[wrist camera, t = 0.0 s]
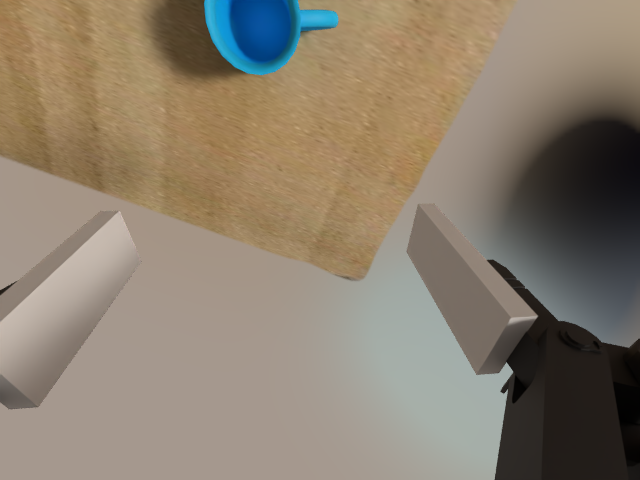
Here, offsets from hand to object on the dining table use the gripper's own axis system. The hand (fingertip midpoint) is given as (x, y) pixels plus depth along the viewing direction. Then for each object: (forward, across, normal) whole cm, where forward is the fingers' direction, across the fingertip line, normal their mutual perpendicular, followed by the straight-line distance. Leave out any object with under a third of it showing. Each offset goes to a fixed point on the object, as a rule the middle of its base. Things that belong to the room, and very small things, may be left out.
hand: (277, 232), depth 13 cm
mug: (+28, 0, +9) cm, 30 cm away
